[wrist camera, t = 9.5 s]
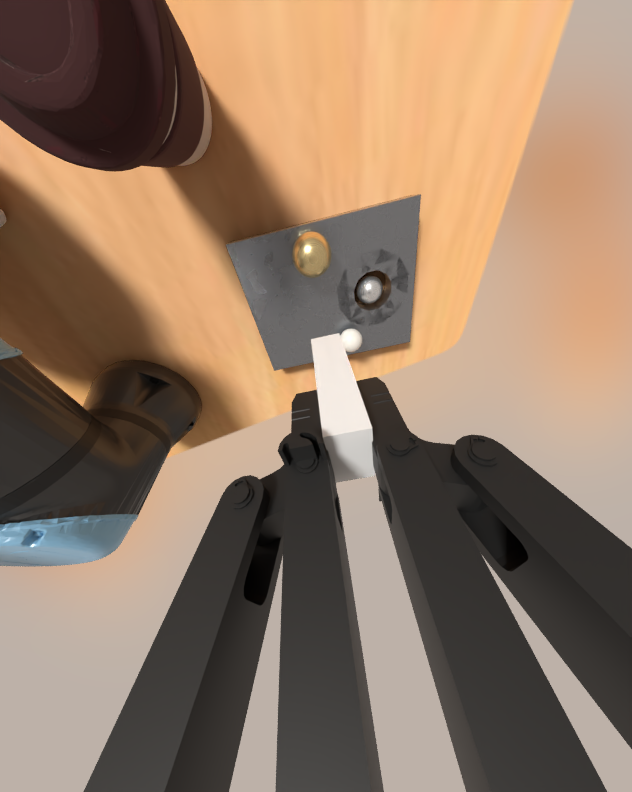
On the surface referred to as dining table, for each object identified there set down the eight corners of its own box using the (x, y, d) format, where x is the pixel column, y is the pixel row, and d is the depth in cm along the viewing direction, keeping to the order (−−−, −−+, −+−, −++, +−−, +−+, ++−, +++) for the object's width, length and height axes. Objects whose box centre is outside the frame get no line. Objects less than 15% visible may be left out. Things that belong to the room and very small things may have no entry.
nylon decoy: (339, 347, 32) (342, 358, 30) (336, 327, 30) (339, 337, 28) (360, 342, 32) (365, 353, 30) (358, 322, 30) (363, 332, 28)
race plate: (275, 361, 36) (274, 370, 34) (231, 242, 26) (225, 244, 24) (403, 334, 34) (409, 341, 32) (410, 195, 24) (420, 194, 22)
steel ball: (353, 302, 31) (363, 310, 28) (351, 277, 28) (361, 282, 26) (376, 296, 31) (387, 302, 28) (375, 270, 29) (387, 274, 26)
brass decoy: (297, 276, 26) (297, 286, 23) (287, 235, 23) (286, 239, 20) (331, 268, 26) (336, 277, 23) (325, 225, 23) (330, 228, 20)
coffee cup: (247, 170, 22) (195, 132, 11) (152, 197, 23) (7, 189, 11) (190, -28, 16) (-93, -663, 4) (62, 18, 16) (-478, -415, 5)
